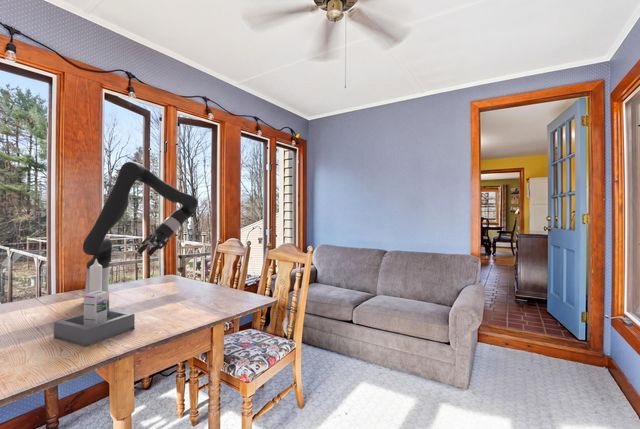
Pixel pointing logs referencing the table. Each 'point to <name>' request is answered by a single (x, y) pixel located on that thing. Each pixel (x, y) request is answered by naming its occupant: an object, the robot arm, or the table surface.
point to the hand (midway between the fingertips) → (143, 253)
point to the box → (93, 328)
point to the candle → (95, 277)
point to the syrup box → (96, 307)
